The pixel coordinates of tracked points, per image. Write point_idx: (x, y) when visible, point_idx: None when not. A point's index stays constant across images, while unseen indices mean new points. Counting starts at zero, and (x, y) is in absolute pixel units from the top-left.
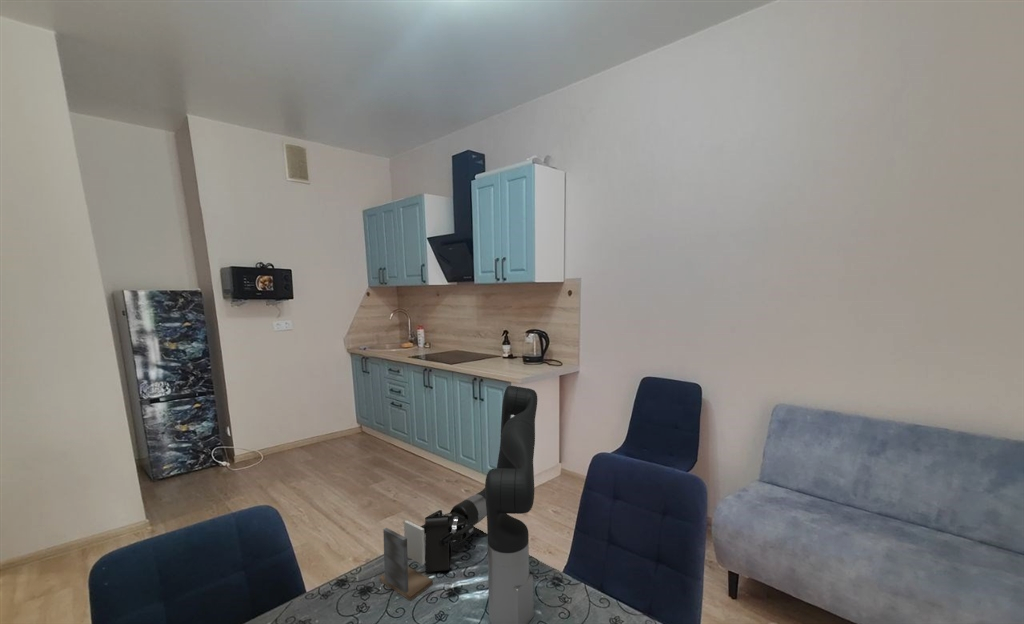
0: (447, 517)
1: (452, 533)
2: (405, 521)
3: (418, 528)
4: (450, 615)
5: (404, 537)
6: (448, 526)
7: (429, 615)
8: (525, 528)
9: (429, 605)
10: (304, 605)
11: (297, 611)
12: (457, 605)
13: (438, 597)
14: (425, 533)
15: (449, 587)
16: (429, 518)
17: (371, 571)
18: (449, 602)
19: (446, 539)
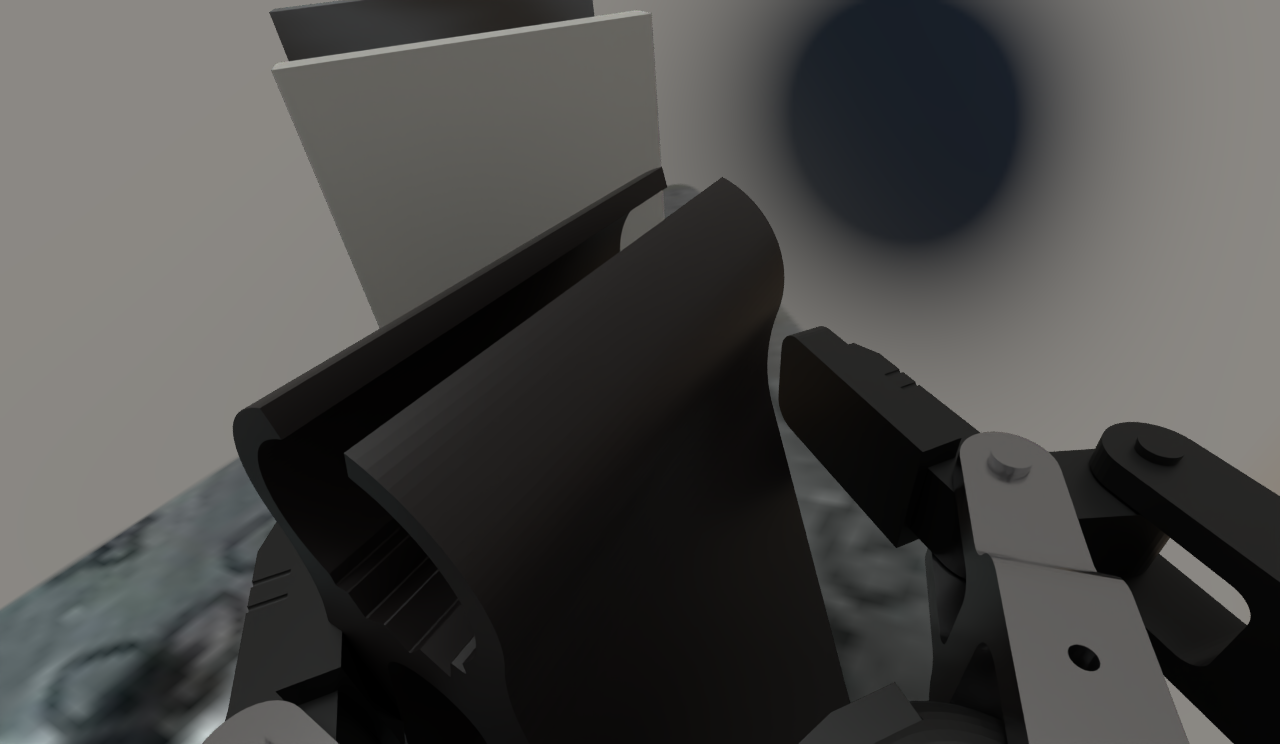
0: (257, 404)
1: (234, 720)
2: (627, 13)
3: (351, 53)
4: (27, 592)
5: (307, 8)
6: (411, 647)
7: (186, 490)
8: None
9: (246, 510)
10: (685, 201)
11: (666, 194)
12: (13, 674)
13: (237, 578)
14: (836, 479)
15: (223, 698)
16: (620, 188)
17: (785, 334)
18: (109, 630)
19: (266, 568)
